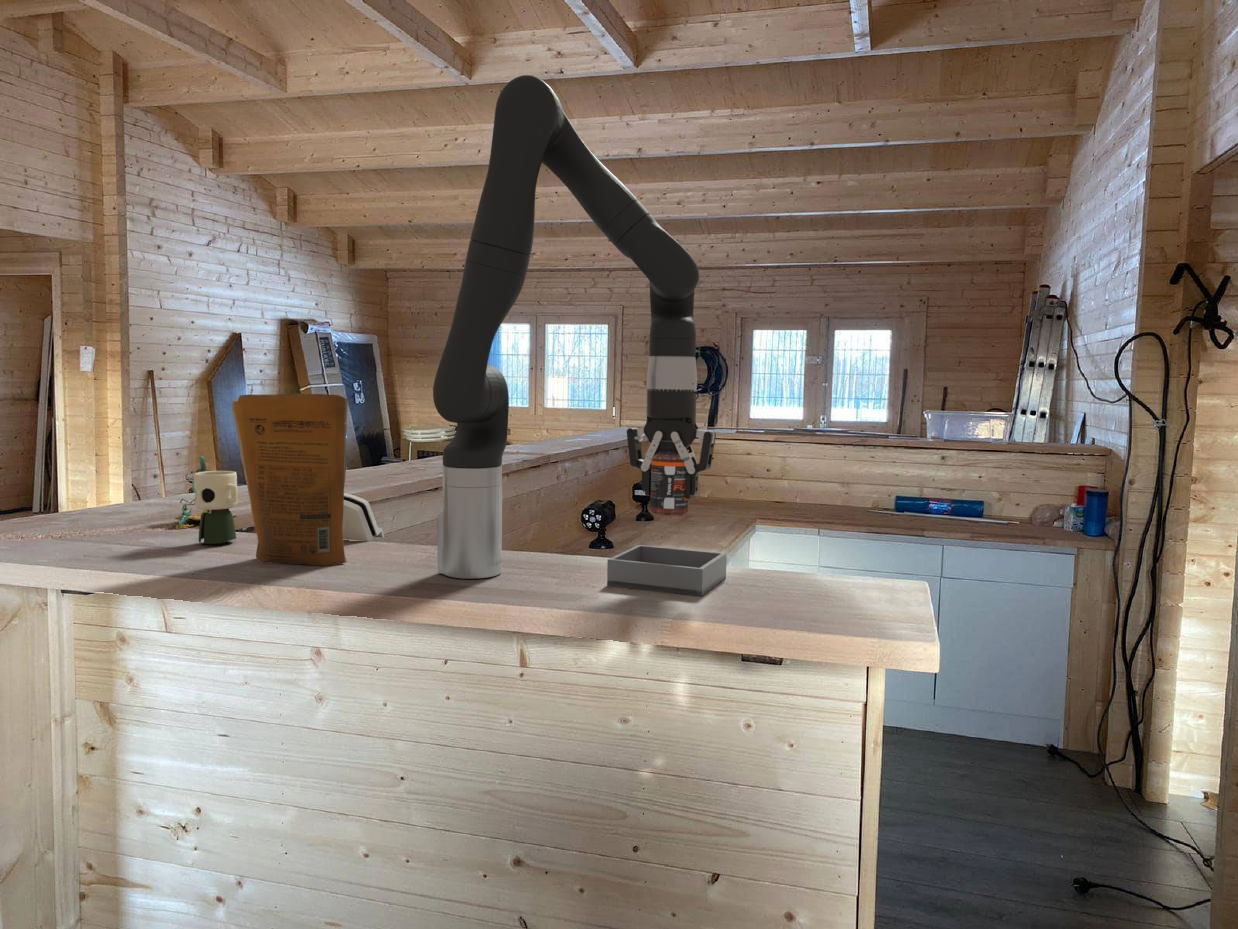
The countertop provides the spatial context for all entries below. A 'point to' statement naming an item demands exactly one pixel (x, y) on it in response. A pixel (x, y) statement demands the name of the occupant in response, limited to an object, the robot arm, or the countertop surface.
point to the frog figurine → (186, 513)
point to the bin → (667, 570)
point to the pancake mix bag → (295, 474)
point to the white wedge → (359, 520)
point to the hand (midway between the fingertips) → (669, 496)
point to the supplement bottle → (668, 481)
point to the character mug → (216, 505)
